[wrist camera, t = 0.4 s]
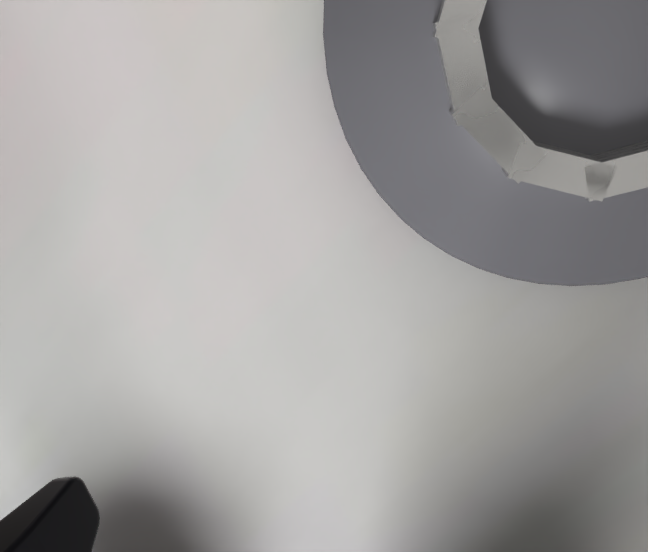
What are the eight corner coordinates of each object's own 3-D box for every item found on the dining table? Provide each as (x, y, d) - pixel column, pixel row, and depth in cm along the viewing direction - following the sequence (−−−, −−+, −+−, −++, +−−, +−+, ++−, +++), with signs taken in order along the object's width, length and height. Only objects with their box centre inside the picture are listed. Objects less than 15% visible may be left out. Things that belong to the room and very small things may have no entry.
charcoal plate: (905, 209, 20) (925, 216, 19) (398, 321, 24) (399, 330, 23) (944, -489, 14) (974, -518, 13) (252, -188, 18) (246, -198, 17)
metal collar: (799, 140, 19) (825, 146, 18) (472, 221, 21) (477, 232, 20) (794, -253, 15) (826, -275, 14) (401, -104, 17) (401, -113, 16)
